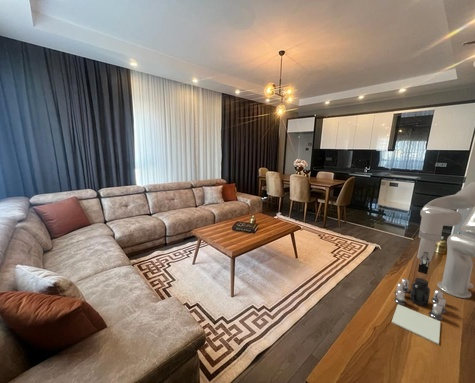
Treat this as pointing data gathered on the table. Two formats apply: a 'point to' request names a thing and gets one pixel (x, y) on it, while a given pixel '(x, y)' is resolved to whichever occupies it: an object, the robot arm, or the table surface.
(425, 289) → the supplement bottle
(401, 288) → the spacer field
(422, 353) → the table surface
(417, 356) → the table surface
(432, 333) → the sage pad
